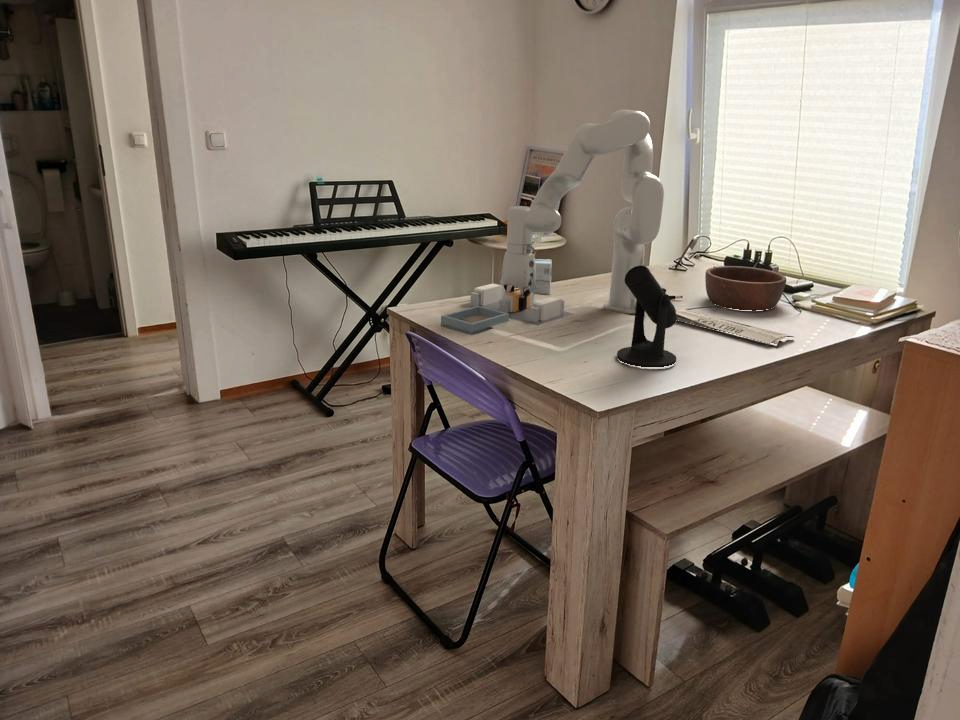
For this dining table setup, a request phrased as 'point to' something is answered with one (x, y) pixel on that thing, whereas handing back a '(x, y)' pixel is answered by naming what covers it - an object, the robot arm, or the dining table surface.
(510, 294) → the marked fuse
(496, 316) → the tray
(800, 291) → the dining table surface
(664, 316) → the microphone
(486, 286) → the block
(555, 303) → the block
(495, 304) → the fuse block
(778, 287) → the wooden bowl
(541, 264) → the light bulb box
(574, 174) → the robot arm
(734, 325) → the newspaper
